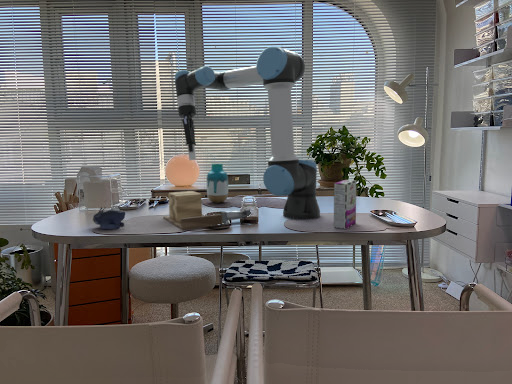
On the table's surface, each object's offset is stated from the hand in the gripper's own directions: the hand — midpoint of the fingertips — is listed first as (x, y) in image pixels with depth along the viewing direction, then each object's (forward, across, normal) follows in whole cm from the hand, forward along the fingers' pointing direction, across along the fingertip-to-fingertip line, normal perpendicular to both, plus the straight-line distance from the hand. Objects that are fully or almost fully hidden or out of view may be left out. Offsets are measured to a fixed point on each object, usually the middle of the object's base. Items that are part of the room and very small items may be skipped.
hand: (192, 159), depth 173 cm
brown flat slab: (+27, +16, 0) cm, 32 cm away
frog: (+26, +25, -28) cm, 46 cm away
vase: (+18, -28, +4) cm, 34 cm away
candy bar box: (+36, +19, +57) cm, 70 cm away
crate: (+25, +12, -3) cm, 28 cm away
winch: (+30, +16, +18) cm, 38 cm away
